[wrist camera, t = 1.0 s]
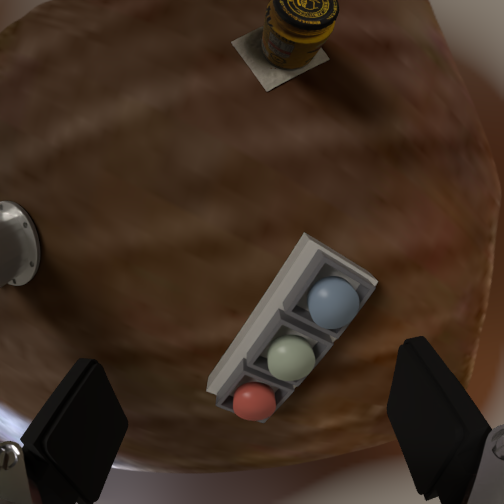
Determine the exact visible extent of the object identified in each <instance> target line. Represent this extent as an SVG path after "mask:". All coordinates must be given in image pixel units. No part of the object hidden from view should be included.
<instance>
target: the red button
mask: <svg viewBox="0 0 504 504" xmlns="http://www.w3.org/2000/svg"><path fill="white" fill-rule="evenodd" d="M275 409H276V401H275V393H274V391H273V389H272V388H271V387H270V386H268V385H267V384H264V383H261V382H249V383H245V384H243V385H241V386H239V387H238V388H237V389H236V390H235V392H234V397H233V410H234V412H235V413H236V415H238V416H239V417H241V418H243V419H245V420H251V421H258V420H263V419H265V418H268V417H269V416H271V415H272V414H273V413H274V411H275Z"/></svg>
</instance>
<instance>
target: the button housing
mask: <svg viewBox="0 0 504 504" xmlns="http://www.w3.org/2000/svg"><path fill="white" fill-rule="evenodd" d="M328 276H339V277H342V278H344V279H346V280H347V281H348V282H349V283H350V284H351V286H352V287H353V288H354V290H355V291H356V292H357V294H358V297H359V309H358V312H359V311H360V309H361V308H362V307H363V305H364V304H365V302H366V301H367V300H368V298H369V297H370V295H371V294H372V293H373V291H374V290H375V288H376V287H375V286H376V284H377V283H378V281H377V280H376V279H375V278H374V277H373V276H372V275H371V274H370V272H368V271H366V270H365V269H363V268H362V267H360V266H359V265H357V264H355V263H354V262H352V261H351V260H349V259H347V258H346V257H344V256H343V255H341V254H339V253H338V252H336V251H334V250H333V249H331V248H330V247H328V246H326V245H325V244H323V243H321V242H320V241H318V240H316V239H315V238H313V237H311V236H310V235H308V234H306V233H305V232H304V234H303V235H302V237H301V238H300V240H299V242H298V243H297V245H296V246H295V248H294V249H293V251H292V253H291V254H290V256H289V257H288V259H287V260H286V262H285V263H284V265H283V267H282V268H281V270H280V271H279V273H278V274H277V276H276V277H275V279H274V280H273V282H272V283H271V285H270V287H269V288H268V290H267V291H266V293H265V294H264V296H263V297H262V299H261V300H260V302H259V303H258V305H257V306H256V308H255V309H254V311H253V312H252V314H251V315H250V317H249V318H248V320H247V321H246V323H245V324H244V326H243V327H242V329H241V330H240V332H239V333H238V335H237V336H236V338H235V339H234V341H233V342H232V343H231V345H230V346H229V348H228V349H227V351H226V352H225V354H224V355H223V357H222V358H221V360H220V361H219V362H218V364H217V365H216V367H215V368H214V370H213V371H212V373H211V374H210V375H209V377H208V383H207V390H206V391H208V392H210V393H213V394H215V395H217V397H216V406H217V407H220V408H223V409H225V410H228V411H230V412H233V413H235V412H234V410H233V397H234V392H235V390H236V389H237V388H238V387H239V386H241V385H243V384H245V383H249V382H261V383H264V384H267V385H268V386H270V387H271V388H272V389H273V391H274V393H275V401H276V409H275V411H276V410H277V409H278V408H279V407H280V406H281V405H282V404H283V403H284V401H285V400H286V399H287V398H288V397H289V396H290V395H291V394H292V393H293V392H294V388H295V387H296V386H299V385H300V384H301V383H302V381H303V380H304V379H305V378H306V377H307V376H308V375H309V374H308V375H307V376H305V377H303V378H301V379H299V380H295V381H283V380H279V379H277V378H275V377H274V376H273V375H272V374H271V373H270V371H269V368H268V360H267V351H268V348H269V346H270V345H271V343H272V342H273V341H275V340H276V339H277V338H279V337H282V336H285V335H299V336H302V337H304V338H305V339H307V340H308V341H309V343H310V344H311V347H312V350H313V353H314V356H315V365H314V367H313V369H314V368H315V366H316V365H317V364H318V363H319V362H320V360H321V359H322V358H323V357H324V356H325V354H326V353H327V352H328V351H329V349H330V348H331V347H332V346H333V342H334V341H335V340H336V338H337V339H338V338H339V337H340V336H341V334H342V333H343V332H344V330H345V329H346V328H347V327H348V325H349V324H350V323H351V321H352V320H353V319H354V318H353V319H352V320H351V321H350V322H349V323H348V324H346V325H345V326H343V327H340V328H337V329H325V328H322V327H320V326H318V325H317V324H316V323H315V322H314V321H313V319H312V317H311V314H310V312H309V309H308V306H307V296H308V293H309V290H310V289H311V287H312V286H313V285H314V284H315V283H316V282H317V281H319V280H320V279H322V278H325V277H328ZM358 312H357V313H358ZM356 315H357V314H356ZM356 315H355V316H356ZM313 369H312V370H313ZM275 411H274V412H275ZM269 417H270V416H269ZM269 417H268V418H269ZM268 418H265V419H263V420H258V422H261V423H265V422H266V420H267V419H268Z"/></svg>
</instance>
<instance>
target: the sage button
mask: <svg viewBox="0 0 504 504" xmlns="http://www.w3.org/2000/svg"><path fill="white" fill-rule="evenodd" d="M267 360H268V368H269V371H270V373H271V374H272V375H273V376H274V377H275V378H277V379H279V380H283V381H295V380H299V379H301V378H303V377H305V376H307V375H308V374H309V373H310V372H311V371H312V369H313V367H314V365H315V356H314V353H313V350H312V347H311V344H310V343H309V341H308V340H307V339H305V338H304V337H302V336H299V335H285V336H282V337H279V338H277V339H276V340H275V341H273V342H272V343H271V345H270V346H269V348H268V351H267Z"/></svg>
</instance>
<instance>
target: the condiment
mask: <svg viewBox="0 0 504 504" xmlns="http://www.w3.org/2000/svg"><path fill="white" fill-rule="evenodd" d="M338 13H339V4H338V1H337V0H271V1H270V2H269V4H268V6H267V10H266V14H265V20H264V21H265V22H264V26H262V27H260V28H258V29H256V30H254V31H252V32H250V33H248V34H246V35H244V36H242V37H240V38H238V39H236V40H234V41H232V42H231V43H232V44H233V46H234V47H235V48H236V50H237V51H238V53H239V54H240V55H241V56H242V58H243V59H244V61H245V62H246V63H247V65H248V66H249V67H250V69H251V70H252V72H253V73H254V74H255V76H256V77H257V79H258V80H259V81H260V83H261V84H262V86H263V87H264V88H265V90H266V91H269V90H271V89H273V88H274V87H276V86H278V85H280V84H282V83H284V82H285V81H288V80H289V79H291V78H293V77H295V76H297V75H299V74H301V73H303V72H305V71H307V70H309V69H311V68H313V67H315V66H317V65H319V64H321V63H324V62H326V61H328V60H330V59H329V57H328V56H327V55H326V53H325V52H324V51H323V49H322V48H321V47H322V46H323V44H324V43H325V41H326V40H327V39H328V37H329V36H330V34H331V33H332V31H333V29H334V25H335V20H336V18H337V16H338ZM260 38H261V39H260ZM270 68H273V69H270ZM274 68H276V69H274Z"/></svg>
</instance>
